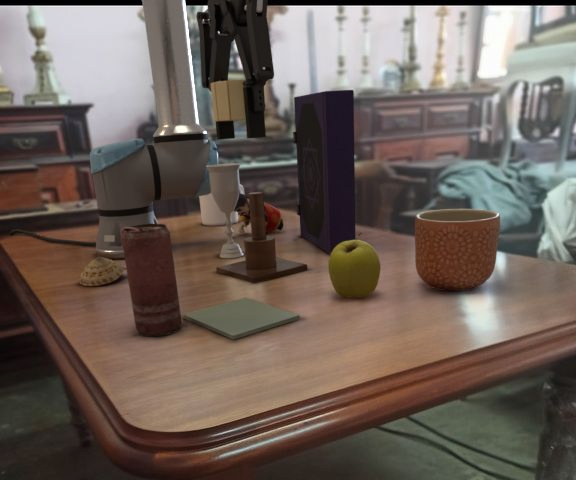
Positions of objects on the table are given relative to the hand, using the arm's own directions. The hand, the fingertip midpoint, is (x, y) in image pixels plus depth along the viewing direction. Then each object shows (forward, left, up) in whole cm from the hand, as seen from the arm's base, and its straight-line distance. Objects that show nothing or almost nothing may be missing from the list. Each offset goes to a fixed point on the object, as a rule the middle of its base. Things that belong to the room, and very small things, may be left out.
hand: (240, 138), depth 85 cm
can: (+4, -19, -24) cm, 30 cm away
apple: (+12, +10, -24) cm, 29 cm away
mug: (-66, +37, -24) cm, 79 cm away
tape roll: (0, 0, +2) cm, 2 cm away
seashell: (-30, -13, -24) cm, 40 cm away
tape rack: (-12, +10, -24) cm, 28 cm away
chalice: (-28, +14, -24) cm, 39 cm away
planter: (+20, +24, -24) cm, 40 cm away
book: (-21, +34, -24) cm, 46 cm away
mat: (+8, -8, -24) cm, 26 cm away
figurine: (-43, +31, -24) cm, 58 cm away
